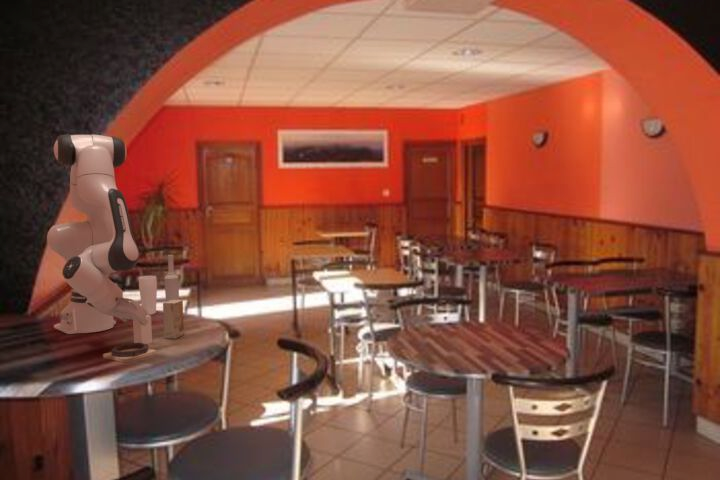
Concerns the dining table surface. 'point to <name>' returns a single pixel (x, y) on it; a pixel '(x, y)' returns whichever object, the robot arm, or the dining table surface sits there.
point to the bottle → (171, 282)
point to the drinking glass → (148, 293)
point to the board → (128, 359)
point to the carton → (142, 331)
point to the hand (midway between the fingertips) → (136, 321)
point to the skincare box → (173, 319)
